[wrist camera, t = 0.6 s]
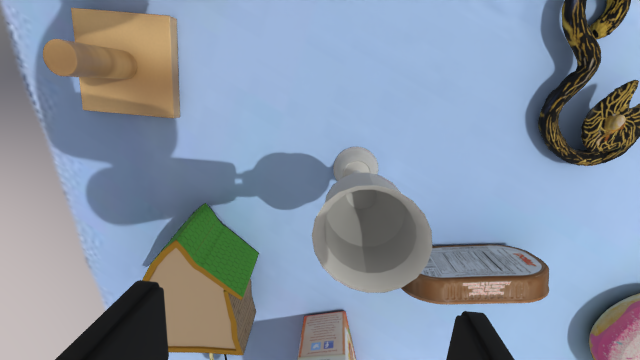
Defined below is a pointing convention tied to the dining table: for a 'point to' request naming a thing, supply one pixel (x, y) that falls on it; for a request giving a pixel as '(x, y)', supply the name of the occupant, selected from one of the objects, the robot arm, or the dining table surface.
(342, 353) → the cracker box
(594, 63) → the toy snake
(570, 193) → the dining table surface
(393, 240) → the chalice
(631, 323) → the donut
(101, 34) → the stand
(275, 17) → the dining table surface
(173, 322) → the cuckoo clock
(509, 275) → the tin
